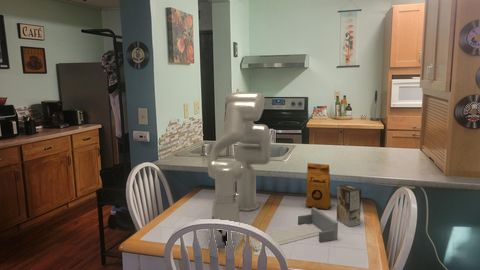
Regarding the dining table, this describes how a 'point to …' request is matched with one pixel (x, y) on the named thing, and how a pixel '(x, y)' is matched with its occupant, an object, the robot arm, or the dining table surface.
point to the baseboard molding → (288, 235)
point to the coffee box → (348, 205)
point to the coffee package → (318, 186)
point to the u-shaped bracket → (321, 224)
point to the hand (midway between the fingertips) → (226, 243)
